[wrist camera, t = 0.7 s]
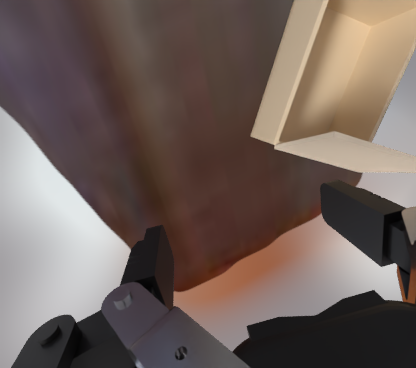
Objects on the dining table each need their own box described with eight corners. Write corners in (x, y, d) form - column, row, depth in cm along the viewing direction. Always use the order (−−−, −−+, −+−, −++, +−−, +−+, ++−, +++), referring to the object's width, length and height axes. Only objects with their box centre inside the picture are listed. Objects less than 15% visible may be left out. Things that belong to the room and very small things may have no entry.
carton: (296, -9, 34) (342, -53, 25) (372, 25, 37) (439, -4, 28) (250, 136, 40) (272, 144, 31) (319, 155, 43) (359, 168, 34)
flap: (334, 131, 20) (333, 136, 20) (451, 167, 23) (450, 172, 23) (275, 145, 30) (274, 148, 31) (359, 168, 33) (358, 172, 33)
